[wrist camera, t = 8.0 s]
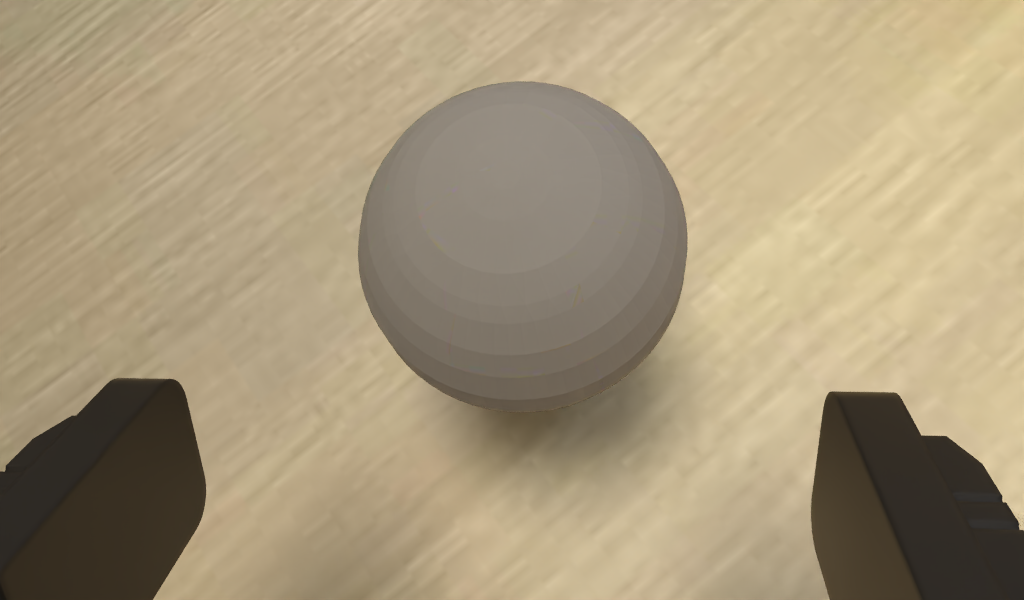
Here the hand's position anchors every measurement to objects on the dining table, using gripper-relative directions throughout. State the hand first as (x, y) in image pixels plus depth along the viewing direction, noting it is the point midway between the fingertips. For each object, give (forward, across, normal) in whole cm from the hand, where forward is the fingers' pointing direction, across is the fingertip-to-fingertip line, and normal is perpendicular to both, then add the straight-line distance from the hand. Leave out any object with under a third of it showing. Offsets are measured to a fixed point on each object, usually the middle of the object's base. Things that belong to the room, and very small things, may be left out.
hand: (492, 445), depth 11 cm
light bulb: (+10, 0, +5) cm, 11 cm away
